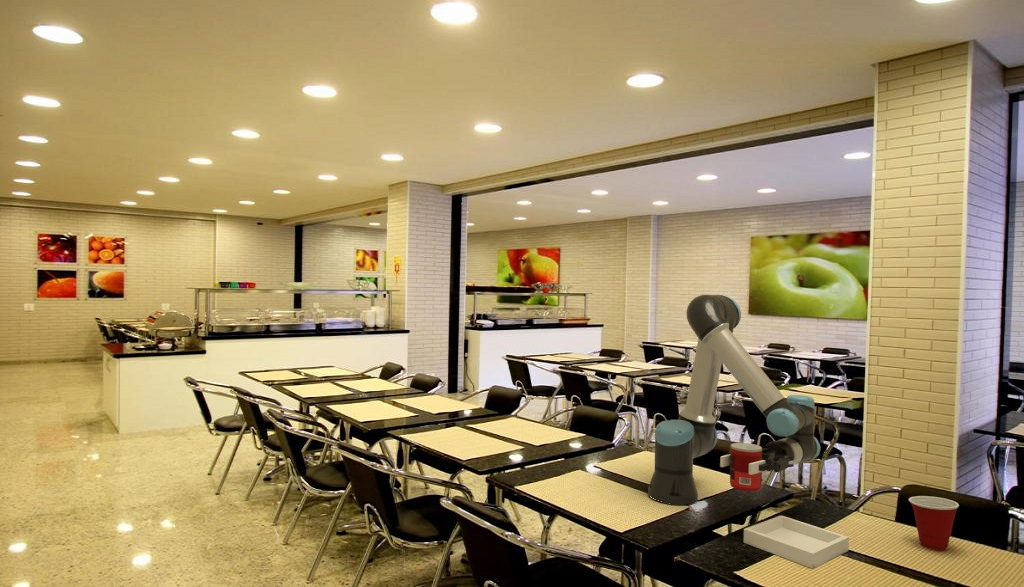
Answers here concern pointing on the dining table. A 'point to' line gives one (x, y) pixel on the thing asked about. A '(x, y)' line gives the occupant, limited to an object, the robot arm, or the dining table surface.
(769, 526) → the tray
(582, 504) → the dining table surface
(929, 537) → the plastic cup
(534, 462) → the dining table surface
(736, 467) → the canned food
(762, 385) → the robot arm
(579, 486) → the dining table surface
